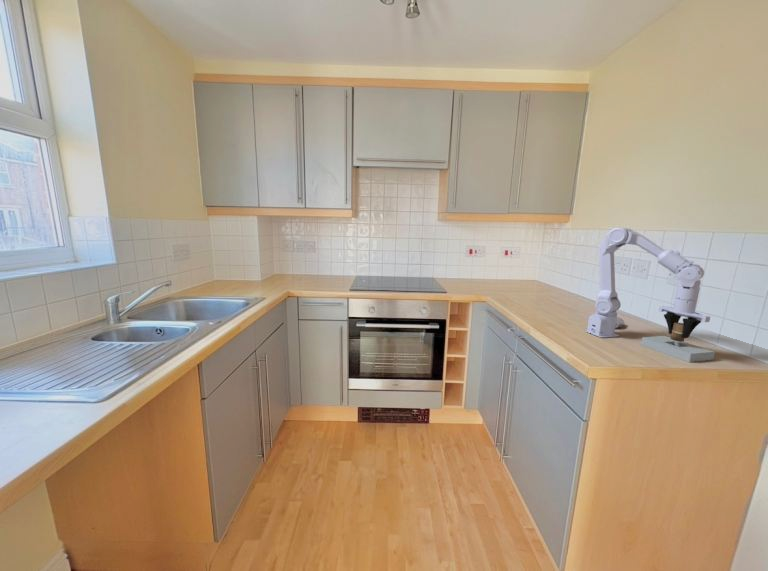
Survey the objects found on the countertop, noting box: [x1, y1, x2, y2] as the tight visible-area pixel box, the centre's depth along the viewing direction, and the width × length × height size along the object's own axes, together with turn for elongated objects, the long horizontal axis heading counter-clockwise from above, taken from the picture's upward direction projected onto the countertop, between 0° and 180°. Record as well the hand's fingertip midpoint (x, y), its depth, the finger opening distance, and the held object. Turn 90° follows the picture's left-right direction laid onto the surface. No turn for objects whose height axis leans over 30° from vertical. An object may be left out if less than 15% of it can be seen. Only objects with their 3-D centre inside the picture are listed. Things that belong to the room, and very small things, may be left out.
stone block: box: [615, 316, 625, 329], centre depth 145 cm, size 12×5×10 cm
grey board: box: [640, 335, 716, 363], centre depth 114 cm, size 11×16×3 cm
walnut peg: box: [670, 322, 686, 342], centre depth 113 cm, size 4×4×6 cm
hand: (678, 335), depth 113 cm, fingers closed on walnut peg, 4 cm apart
